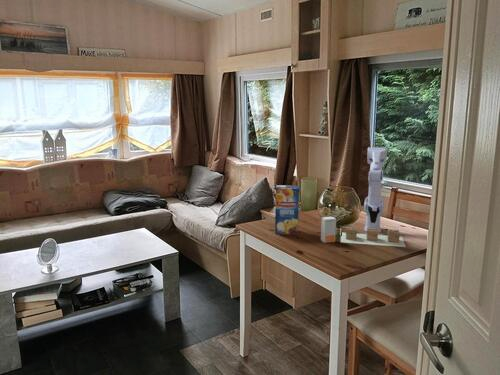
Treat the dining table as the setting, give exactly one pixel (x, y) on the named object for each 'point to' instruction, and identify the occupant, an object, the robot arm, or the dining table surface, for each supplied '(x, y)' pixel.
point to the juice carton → (286, 209)
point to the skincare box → (328, 229)
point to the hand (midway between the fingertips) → (372, 221)
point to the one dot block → (393, 235)
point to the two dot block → (351, 233)
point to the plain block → (372, 234)
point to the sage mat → (381, 241)
